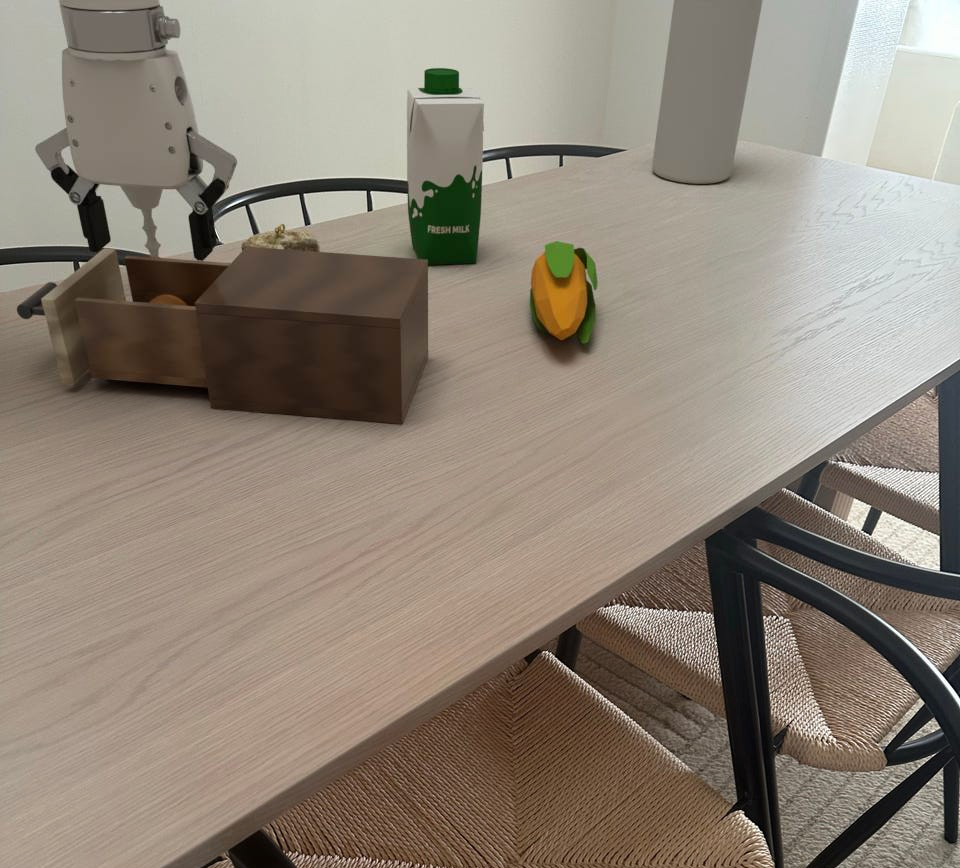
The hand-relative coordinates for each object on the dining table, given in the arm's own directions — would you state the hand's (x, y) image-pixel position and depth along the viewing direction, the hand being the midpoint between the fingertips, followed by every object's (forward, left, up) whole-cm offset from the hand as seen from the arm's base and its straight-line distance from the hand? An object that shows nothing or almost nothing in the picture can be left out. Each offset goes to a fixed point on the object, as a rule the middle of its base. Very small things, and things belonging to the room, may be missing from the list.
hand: (152, 251), depth 89 cm
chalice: (-9, +20, -12) cm, 25 cm away
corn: (+37, +18, -12) cm, 43 cm away
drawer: (-2, 0, -10) cm, 11 cm away
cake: (+3, +29, -12) cm, 31 cm away
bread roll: (0, 0, -9) cm, 9 cm away
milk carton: (+21, +38, -12) cm, 45 cm away
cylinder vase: (+54, +84, -12) cm, 101 cm away
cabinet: (+15, 0, -11) cm, 19 cm away
